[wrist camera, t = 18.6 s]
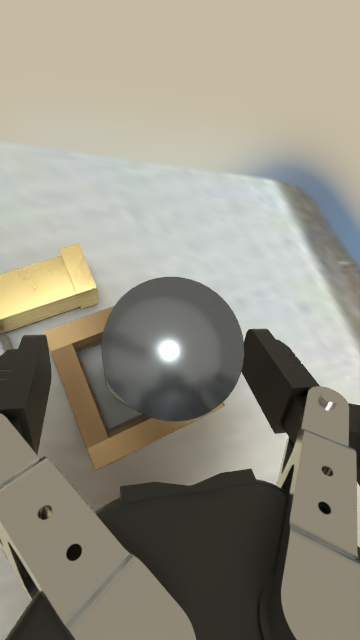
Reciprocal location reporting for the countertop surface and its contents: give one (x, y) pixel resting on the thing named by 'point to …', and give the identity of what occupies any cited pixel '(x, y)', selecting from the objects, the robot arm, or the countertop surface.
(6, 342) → the socket block
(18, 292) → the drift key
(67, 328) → the brown square frame
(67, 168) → the countertop surface
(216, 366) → the grey capsule rod
